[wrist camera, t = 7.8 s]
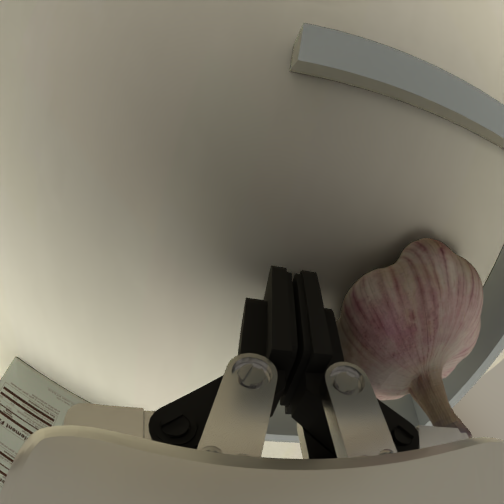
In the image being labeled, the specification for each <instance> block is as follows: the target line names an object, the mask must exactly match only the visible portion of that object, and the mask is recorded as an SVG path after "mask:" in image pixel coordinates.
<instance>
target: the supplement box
mask: <svg viewBox="0 0 504 504" xmlns="http://www.w3.org/2000/svg"><path fill="white" fill-rule="evenodd" d="M78 403H89V402H87V401H85V400H83V399H82V398H80V397H78V396H76V395H74V394H73V393H71V392H69V391H68V390H66V389H64V388H63V387H61V386H59V385H58V384H56V383H54V382H53V381H51V380H50V379H48V378H46V377H45V376H43V375H42V374H40V373H39V372H37V371H36V370H34V369H33V368H31V367H30V366H28V365H27V364H26V363H24V362H23V361H21V360H20V359H18V358H17V357H15V358H14V360H13V361H12V363H11V364H10V366H9V367H8V369H7V371H6V372H5V374H4V375H3V377H2V378H1V380H0V493H1V490H2V487H3V485H4V482H5V479H6V476H7V474H8V472H9V469H10V467H11V465H12V463H13V461H14V459H15V457H16V455H17V453H18V451H19V450H20V448H21V447H22V445H23V444H24V442H25V441H26V440H27V439H28V437H29V436H30V435H31V434H33V433H34V432H36V431H37V430H39V429H42V428H46V427H52V426H63V425H64V419H65V415H66V413H67V411H68V410H69V409H70V408H71V407H72V406H73V405H76V404H78Z"/></svg>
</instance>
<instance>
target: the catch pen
mask: <svg viewBox="0 0 504 504" xmlns="http://www.w3.org/2000/svg"><path fill="white" fill-rule="evenodd" d="M290 71H291V72H296V73H301V74H306V75H311V76H316V77H320V78H325V79H329V80H333V81H337V82H341V83H345V84H349V85H352V86H356V87H359V88H363V89H366V90H370V91H373V92H376V93H379V94H382V95H385V96H388V97H391V98H394V99H397V100H400V101H402V102H405V103H408V104H410V105H413V106H416V107H418V108H421V109H423V110H426V111H428V112H431V113H433V114H435V115H438V116H440V117H442V118H444V119H447V120H449V121H451V122H453V123H455V124H457V125H459V126H462V127H464V128H466V129H468V130H470V131H472V132H473V133H475V134H477V135H479V136H481V137H483V138H485V139H487V140H488V141H490V142H492V143H494V144H496V145H497V146H499V147H501V148H502V149H504V105H503V104H501V103H500V102H498V101H497V100H495V99H494V98H492V97H491V96H489V95H488V94H486V93H484V92H483V91H481V90H479V89H478V88H476V87H474V86H473V85H471V84H469V83H467V82H466V81H464V80H462V79H460V78H458V77H456V76H454V75H453V74H451V73H449V72H447V71H445V70H443V69H441V68H439V67H437V66H434V65H432V64H430V63H428V62H426V61H424V60H421V59H419V58H417V57H414V56H412V55H410V54H407V53H405V52H402V51H400V50H397V49H394V48H392V47H389V46H386V45H383V44H381V43H378V42H375V41H372V40H369V39H365V38H362V37H359V36H356V35H352V34H349V33H345V32H341V31H338V30H334V29H330V28H326V27H321V26H317V25H312V24H307V23H304V24H303V26H302V28H301V30H300V32H299V34H298V37H297V39H296V41H295V43H294V47H293V54H292V60H291V66H290ZM480 321H481V327H480V332H479V336H478V339H477V341H476V344H475V346H474V348H473V349H472V351H471V352H470V353H469V355H468V356H467V357H465V358H464V359H463V360H461V361H460V362H459V363H458V364H457V365H456V367H455V369H454V370H453V371H452V372H451V373H450V374H449V375H448V376H447V377H446V378H443V379H442V381H443V384H444V388H445V392H446V395H447V398H448V402H449V404H450V406H451V408H453V407H454V406H455V405H456V404H457V403H458V402H459V401H460V400H461V398H462V397H463V396H464V395H465V394H466V393H467V392H468V391H469V390H470V389H471V388H472V387H473V386H474V384H475V383H476V382H477V381H478V380H479V379H480V378H481V376H482V375H483V374H484V373H485V372H486V370H487V369H488V368H489V367H490V366H491V364H492V363H493V362H494V361H495V359H496V358H497V357H498V355H499V354H500V353H501V352H502V350H503V349H504V246H503V248H502V250H501V253H500V255H499V257H498V259H497V261H496V263H495V265H494V268H493V270H492V272H491V274H490V276H489V277H488V279H487V281H486V283H485V285H484V287H483V306H482V311H481V315H480ZM380 401H381V402H383V403H384V404H386V405H387V406H388V407H390V408H391V409H392V410H394V411H395V412H397V413H398V414H399V415H401V416H402V417H404V418H405V419H406V420H408V421H409V422H410V423H411V424H413V425H414V426H415V427H417V426H418V425H425V426H433V425H432V423H431V421H430V420H429V418H428V416H427V415H426V413H425V412H424V411H423V409H422V408H421V407H420V406H419V404H418V403H417V402H416V401H415V400H414V399H413V398H412V396H411V394H407V395H405V396H403V397H401V398H399V399H394V400H380ZM265 441H275V442H295V443H300V442H299V437H298V432H297V422H296V421H295V420H294V419H293V418H292V417H291V414H285V406H281V405H280V400H279V403H278V405H277V407H276V409H275V412H274V414H273V416H272V417H270V418H269V423H268V427H267V432H266V436H265Z"/></svg>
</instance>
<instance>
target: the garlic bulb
mask: <svg viewBox="0 0 504 504" xmlns="http://www.w3.org/2000/svg"><path fill="white" fill-rule="evenodd" d="M482 306H483V286H482V283H481V279H480V277H479V275H478V273H477V271H476V269H475V268H474V267H473V266H472V265H471V264H470V263H469V262H468V261H467V260H465V259H464V258H462V257H460V256H458V255H456V254H455V253H453V252H452V251H451V250H450V249H449V248H448V247H447V246H446V245H445V244H444V243H442V242H440V241H438V240H435V239H429V238H424V239H420V240H417V241H414V242H412V243H410V244H409V245H408V246H407V247H406V248H405V249H404V250H403V251H402V253H401V255H400V257H399V259H398V260H397V262H396V263H395V264H393V265H391V266H388V267H385V268H379V269H375V270H373V271H371V272H369V273H367V274H365V275H363V276H362V277H361V278H360V279H359V280H358V281H356V282H355V284H354V285H353V286H352V287H351V288H350V290H349V291H348V293H347V294H346V296H345V298H344V301H343V304H342V308H341V315H340V318H339V319H338V321H337V322H336V325H337V329H338V334H339V338H340V343H341V347H342V352H343V357H344V362H349V363H352V364H355V365H357V366H358V367H360V368H361V369H362V370H363V371H364V372H365V373H366V375H367V376H368V378H369V381H370V383H371V386H372V388H373V390H374V393H375V395H376V398H377V399H379V400H394V399H399V398H401V397H403V396H405V395H407V394H409V393H410V394H411V396H412V398H413V399H414V400H415V401H416V402H417V403H418V404H419V406H420V407H421V408H422V409H423V411H424V412H425V413H426V415H427V416H428V418H429V420H430V421H431V423H432V425H433V426H435V427H448V428H458V429H459V431H460V432H461V433H465V432H466V434H467V435H468V437H469V438H472V435H471V433H470V431H469V430H468V429H467V428H466V426H465V425H464V424H463V423H462V421H461V420H460V419H459V418H458V417H457V416H456V415H455V414H454V412H453V410H452V408H451V406H450V404H449V402H448V398H447V395H446V392H445V388H444V384H443V381H442V379H443V378H446V377H447V376H448V375H449V374H450V373H451V372H452V371H453V370H454V369H455V367H456V365H457V364H458V363H459V362H460V361H461V360H463V359H464V358H465V357H467V356H468V355H469V353H470V352H471V351H472V349H473V348H474V346H475V344H476V341H477V339H478V336H479V332H480V327H481V321H480V315H481V311H482Z"/></svg>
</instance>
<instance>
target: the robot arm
mask: <svg viewBox="0 0 504 504" xmlns="http://www.w3.org/2000/svg"><path fill="white" fill-rule="evenodd" d="M279 400H280V405H281V406H285V414H291V417H292V418H293V419H294V420H295V421H296V422H297V432H298V437H299V442H300V447H301V451H302V456H303V459H282V458H264V457H261V454H262V450H263V445H264V441H265V436H266V432H267V427H268V423H269V418H270V417H272V416H273V414H274V412H275V409H276V407H277V405H278V403H279ZM0 504H504V440H501V439H496V438H488V437H478V438H469V437H468V435H467V434H466V432H465V433H461V432H460V431H459V429H458V428H448V427H435V426H425V425H418V426H417V427H415V426H414V425H413V424H411V423H410V422H409V421H408V420H406V419H405V418H404V417H402V416H401V415H399V414H398V413H397V412H395V411H394V410H392V409H391V408H390V407H388V406H387V405H386V404H384V403H383V402H381V401H380V400H379V399H377V398H376V395H375V393H374V390H373V388H372V386H371V383H370V381H369V378H368V376H367V375H366V373H365V372H364V371H363V370H362V369H361V368H360V367H358V366H357V365H355V364H352V363H349V362H344V357H343V352H342V347H341V343H340V338H339V334H338V329H337V325H336V320H335V316H334V312H333V310H332V309H327V308H324V305H323V301H322V296H321V291H320V287H319V282H318V277H317V273H316V272H310V271H304V270H301V272H300V274H297V273H295V275H294V278H293V282H292V273H290V272H287V269H286V268H283V267H277V266H271V269H270V273H269V278H268V283H267V287H266V292H265V297H264V300H258V299H251V298H246V301H245V307H244V313H243V319H242V326H241V333H240V341H239V349H238V356H235V357H234V358H233V359H232V360H230V362H229V363H228V365H227V367H226V370H225V373H224V375H223V376H221V377H219V378H217V379H216V380H214V381H212V382H210V383H208V384H206V385H205V386H203V387H201V388H199V389H197V390H195V391H193V392H191V393H189V394H187V395H185V396H183V397H181V398H179V399H177V400H175V401H173V402H171V403H169V404H167V405H165V406H163V407H161V408H160V409H158V410H157V411H144V409H143V408H134V407H120V406H109V405H99V404H91V403H78V404H76V405H73V406H72V407H71V408H70V409H69V410H68V411H67V413H66V415H65V419H64V425H63V426H52V427H46V428H42V429H39V430H37V431H36V432H34V433H33V434H31V435H30V436H29V437H28V439H27V440H26V441H25V442H24V444H23V445H22V447H21V448H20V450H19V451H18V453H17V455H16V457H15V459H14V461H13V463H12V465H11V467H10V469H9V472H8V474H7V476H6V479H5V482H4V485H3V487H2V490H1V493H0Z"/></svg>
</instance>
